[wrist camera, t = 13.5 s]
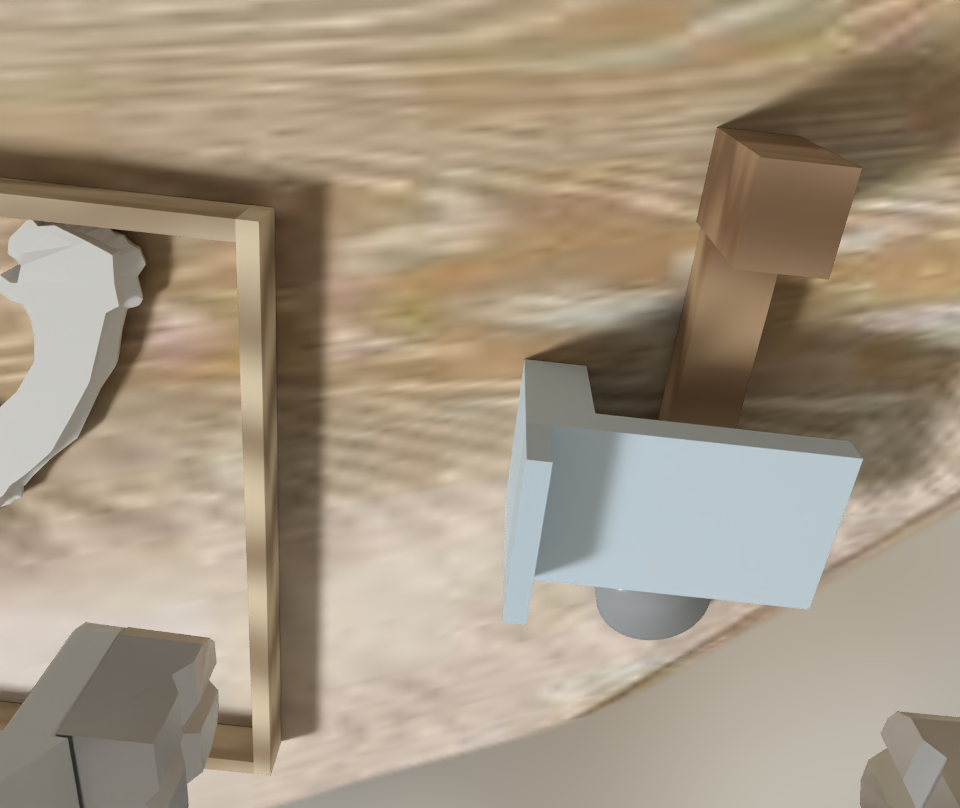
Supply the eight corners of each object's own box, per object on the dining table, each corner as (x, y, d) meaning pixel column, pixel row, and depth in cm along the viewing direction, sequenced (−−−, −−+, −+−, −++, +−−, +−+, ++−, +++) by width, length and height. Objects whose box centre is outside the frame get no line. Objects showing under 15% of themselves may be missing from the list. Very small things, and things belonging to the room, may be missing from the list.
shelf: (524, 359, 40) (526, 459, 31) (812, 390, 40) (893, 499, 31) (505, 498, 43) (502, 622, 35) (769, 526, 43) (831, 656, 35)
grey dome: (597, 526, 44) (601, 548, 42) (710, 530, 44) (718, 553, 42) (589, 613, 47) (591, 637, 45) (695, 617, 47) (702, 642, 45)
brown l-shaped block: (717, 127, 34) (761, 157, 28) (799, 136, 35) (862, 168, 28) (641, 471, 42) (663, 555, 36) (709, 478, 42) (742, 563, 36)
